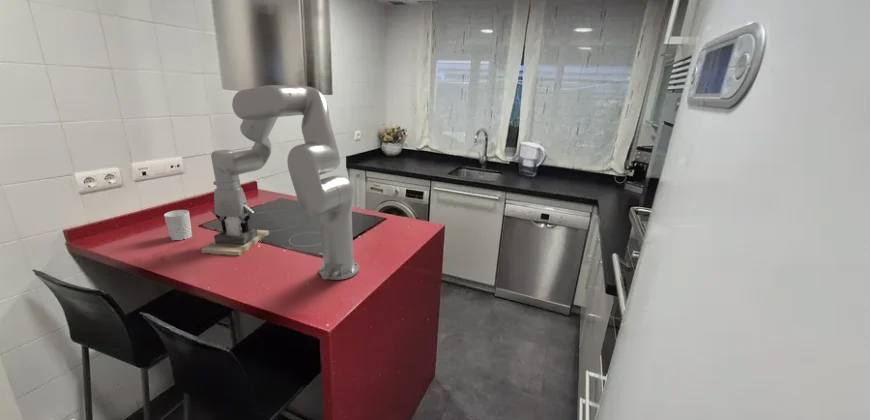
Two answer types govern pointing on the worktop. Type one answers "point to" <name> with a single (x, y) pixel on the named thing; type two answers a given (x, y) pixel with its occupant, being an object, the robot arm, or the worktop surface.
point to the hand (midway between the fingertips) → (236, 230)
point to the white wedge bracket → (233, 227)
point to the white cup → (178, 224)
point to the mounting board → (234, 242)
